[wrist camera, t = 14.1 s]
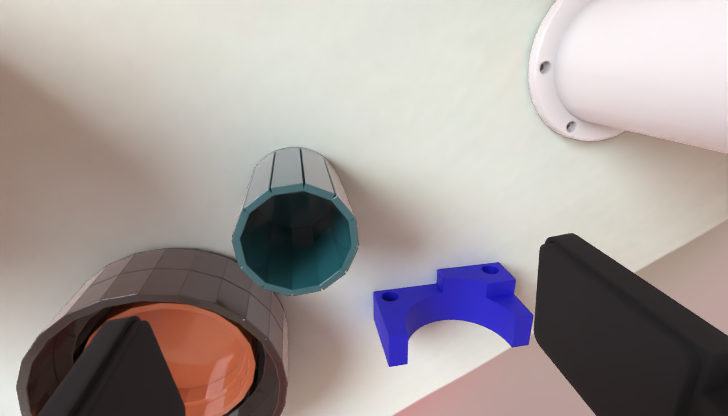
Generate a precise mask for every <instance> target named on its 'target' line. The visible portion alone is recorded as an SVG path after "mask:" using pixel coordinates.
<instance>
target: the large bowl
mask: <svg viewBox="0 0 728 416" xmlns="http://www.w3.org/2000/svg"><path fill="white" fill-rule="evenodd" d="M240 267H241V266H238V263H237V262H235V261H233V260H231V259H230V258H227V257H223V256H220V255H216V254H213V253H209V252H205V251H202V250H193V249H176V248H168V249H167V248H165V249H159V250H153V251H147V252H141V253H137V254H133V255H131V256H128V257H126V258H124V259H121V260H119V261H116V262H114V263H112V264H109V265H108V266H106V267H105V268H103V269H102V270H101V271H100V272H98V273H97V274H96V275H95V276H93V277H92V278H91V279H89V280H88V281H87V282H86V283H85V284H84V285H83V286H82V287H81V288H80V290H79V291H78V292H77V293H76V294H75V295H74V296H73V297H72V299H71V300H70V301H69V302H68V303H67V304H66V305H65V306H64V308H63V309H62V310H61V311H60V312H59V313H58V314H57V315H56V316H55V318H54V319H53V320H52V321H51V322H50V323H49V324H48V325H47V327H46V328H45V329H44V330H43V331H42V332H41V333H40V334H39V336H38V337H37V338H36V340H35V341H34V343H33V344H32V346H31V347H30V349H29V350H28V352H27V353H26V355H25V356H24V358H23V359H22V362H21V367H20V371H19V376H18V381H17V386H16V387H17V388H16V390H17V395H18V400H19V405H20V410H21V413H22V416H37V415H38V414H39V412H40V411H41V410H42V408H43V407H44V405H45V404H46V403H47V401H48V400H49V399H50V397H51V396H52V394H53V393H54V392H55V390H56V389H57V387H58V386H59V385H60V383H61V382H62V380H63V379H64V378H65V376H66V375H67V374H68V372H69V371H70V369H71V368H72V367H73V365H74V364H75V362H76V361H77V360H78V358H79V357H80V355H81V354H82V353H83V350H84V348H85V346H86V343H87V341H88V339H89V337H90V335H91V334H92V333H93V331H94V330H95V328H96V327H97V326H98V324H99V323H100V321H101V320H102V318H103V317H104V316H105V314H106V313H107V311H108V310H109V309H110V308H111V307H112V306H116V305H122V304H127V303H133V302H139V301H155V302H179V303H183V304H187V305H192V306H196V307H200V308H204V309H209V310H212V311H214V312H216V313H218V314H220V315H222V316H224V317H226V318H228V319H231V320H233V321H235V322H237V323H239V324H240V325H242V326H243V327H244V328H245V329H246V330H247V331H249V332H250V333H251V334H252V335H253V336H255V337H256V338H257V339H258V349H257V358H256V366H255V373H254V380H253V383H252V385H251V386H250V388H249V390H248V392H247V393H246V395H245V397H244V398H243V400H242V401H240V402H239V403H238V404H237V405H236V406H235V407H233V408H232V409H231V410H230V411H229V412H228V413H226V414H224V415H222V416H280V415H281V413H282V411H283V409H284V407H285V402H286V394H287V385H288V327H287V323H286V318H285V313H284V310H283V307H282V306H281V304H280V302H279V301H278V299H277V297H276V295H275V294H274V292H273V291H269V290H265V289H263V286H262V287H259V286H258V285H257V284H256V283H255V282H254V281H253V280H252V279H251V278H250V277H249V276H247V275H246V274H245V273H244V272H243V271H242V270H241V269H240Z"/></svg>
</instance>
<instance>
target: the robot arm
mask: <svg viewBox="0 0 728 416" xmlns="http://www.w3.org/2000/svg"><path fill="white" fill-rule="evenodd" d="M540 66H541V67H540ZM528 78H529V90H530V94H531V98H532V102H533V104H534V106H535V108H536V111H537V113H538V115H539V116H540V117H541V119H542V120H543V121H544V122H545V124H546V125H547V126H549V127H550V128H551V129H552V130H554V131H555V132H556V133H559V134H561V135H563V136H566V137H568V138H572V139H576V140H579V141H599V140H605V139H608V138H611V137H614V136H617V135H619V134H621V133H623V132H625V131H630V132H635V133H639V134H644V135H648V136H652V137H657V138H661V139H665V140H670V141H674V142H678V143H683V144H687V145H691V146H696V147H700V148H704V149H709V150H713V151H717V152H722V153H726V154H728V0H557V1H556V2H555V3H554V4H553V5H552V7H551V8H550V10H549V11H548V13H547V15H546V16H545V18H544V19H543V21H542V23H541V25H540V27H539V30H538V32H537V34H536V36H535V39H534V43H533V46H532V50H531V54H530V60H529V69H528ZM534 335H535V338H536V340H537V342H538V344H539V346H540V347H541V348H542V349H543V350H544V352H545V353H546V354H547V356H548V357H549V358H550V359H551V360H552V362H553V363H554V364H555V365H556V367H557V368H558V369H559V370H560V372H561V373H562V374H563V375H564V376H565V378H566V379H567V380H568V381H569V383H570V384H571V385H572V386H573V387H574V389H575V390H576V391H577V392H578V394H579V395H580V396H581V397H582V399H583V400H584V401H585V402H586V404H587V405H588V406H589V407H590V408H591V410H592V411H593V412H594V413H595V415H596V416H728V336H727V335H726V334H724V333H723V332H721V331H720V330H718V329H717V328H715V327H714V326H712V325H711V324H709V323H708V322H706V321H705V320H703V319H702V318H700V317H699V316H697V315H696V314H694V313H693V312H691V311H690V310H688V309H687V308H685V307H684V306H682V305H681V304H679V303H678V302H676V301H675V300H673V299H672V298H670V297H669V296H667V295H666V294H664V293H663V292H661V291H660V290H658V289H657V288H655V287H654V286H652V285H651V284H649V283H648V282H646V281H645V280H643V279H642V278H640V277H639V276H637V275H636V274H634V273H633V272H631V271H630V270H628V269H627V268H625V267H624V266H622V265H621V264H619V263H618V262H616V261H615V260H613V259H612V258H610V257H609V256H607V255H606V254H604V253H603V252H601V251H600V250H598V249H597V248H595V247H594V246H592V245H591V244H589V243H588V242H586V241H585V240H583V239H582V238H580V237H579V236H577V235H575V234H573V233H569V234H564V235H559V236H553V237H549V238H548V239H547V240H546V242H545V244H543V245H542V246H541V247H540V252H539V266H538V280H537V293H536V307H535V321H534ZM37 416H186V410H185V405H184V402H183V400H182V398H181V395H180V393H179V391H178V388H177V386H176V384H175V381H174V379H173V377H172V374H171V372H170V370H169V367H168V365H167V363H166V360H165V358H164V356H163V353H162V351H161V349H160V346H159V344H158V342H157V339H156V337H155V335H154V332H153V330H152V328H151V325H150V324H149V322H148V321H146V320H143V321H141V319H140V318H139V317H138V316H129V317H124V318H119V319H113V320H109V321H106V322H105V323H104V324H103V325H102V326H101V328H100V329H99V330H98V332H97V333H96V335H95V336H94V337H93V339H92V340H91V342H90V343H89V344H88V346H87V347H86V349H85V350H84V351H83V353H82V354H81V355H80V357H79V358H78V360H77V361H76V362H75V364H74V365H73V367H72V368H71V369H70V371H69V372H68V374H67V375H66V376H65V378H64V379H63V380H62V382H61V383H60V385H59V386H58V387H57V389H56V390H55V392H54V393H53V394H52V396H51V397H50V399H49V400H48V401H47V403H46V404H45V405H44V407H43V408H42V410H41V411H40V412H39V414H38V415H37Z"/></svg>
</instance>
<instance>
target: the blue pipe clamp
mask: <svg viewBox="0 0 728 416" xmlns="http://www.w3.org/2000/svg"><path fill="white" fill-rule="evenodd" d="M515 282H516V279H515V278H514V277H513V276H512V275H511V274H510V273H509V272H508V271H507V270H506V269H505V268H504V267H503V266H502V265H501V264H500V263H499V262H497V263H489V264H481V265H472V266H464V267H456V268H448V269H439V270H437V284H431V285H423V286H415V287H407V288H399V289H391V290H383V291H375V292H373V299H374V321H375V324H376V327H377V330H378V333H379V337H380V340H381V343H382V346H383V349H384V352H385V356H386V359H387V362H388V365H389V367H392V366H398V365H404V364H407V362H408V340H409V338H410V337H411V335H412V334H413V333H414V332H415V331H416V330H417V329H419V328H420V327H422V326H424V325H426V324H429V323H432V322H435V321H440V320H462V321H468V322H472V323H476V324H479V325H482V326H484V327H486V328H488V329H490V330H492V331H494V332H495V333H497V334H498V335H500V336H501V337H502V338H504V339H505V340H506V341H507V342H508V343H509V344H510V346H511V347H517V346H524V345H528V344H529V339H530V334H531V328H532V322H533V316H534V315H533V314H532V313H531V312H530V311H529V310H528V309H527V308H526V307H525V306H524V305H523V304H522V302H521V301H520V300H519V299H518V298H517V297H516V296H515V295H514V289H515Z"/></svg>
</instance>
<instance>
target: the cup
mask: <svg viewBox="0 0 728 416" xmlns="http://www.w3.org/2000/svg"><path fill="white" fill-rule="evenodd" d="M232 237H233V238H232V243H233V247H234V251H235V255H236V258H237V262H238V266H241V267H240V269H241V270H242V271H243V272H244V273H245V274H246V275H247V276H249V277H250V278H251V279H252V280H253V281H254V282H255V283H256V284H257V285H258V286H259V287H262V286H263V289H265V290H269V291H273V292H277V293H281V294H284V295H288V296H290V295H291V293H292V294H293V296H297V295H302V294H307V293H313V292H318V291H321V288H322V289H323V290H324V289H325V288H327V287H328V286H329V285H331V284H332V283H334V282H335V281H336V280H338V279H339V278H340V277H342V276H343V275H345V271H346V272H347V271H348V269H349V267H350V265H351V263H352V261H353V259H354V257H355V255H356V252H357V250H358V246H359V240H358V231H357V223H356V218H355V216H354V213H353V211H352V208H351V206H350V203H349V201H348V198H347V196H346V193H345V191H344V188H343V186H342V183H341V181H340V178H339V176H338V173H337V172H336V171H335V170H334V168H333V167H332V165H331V164H330V163H329V162H328V161H327V160H326V158H325V157H323V156H322V155H320V154H318V153H316V152H314V151H312V150H309V149H306V148H300V147H288V148H283V149H280V150H276V151H274V152H272V153H270V154H269V155H267V156H266V157H265V158H264V159H262V160H261V161H260V163H258V164H257V165H256V167H255V168H254V171H253V174H252V176H251V179H250V182H249V184H248V187H247V191H246V194H245V197H244V200H243V203H242V206H241V210H240V213H239V216H238V219H237V222H236V225H235V229H234V232H233V235H232Z"/></svg>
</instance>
